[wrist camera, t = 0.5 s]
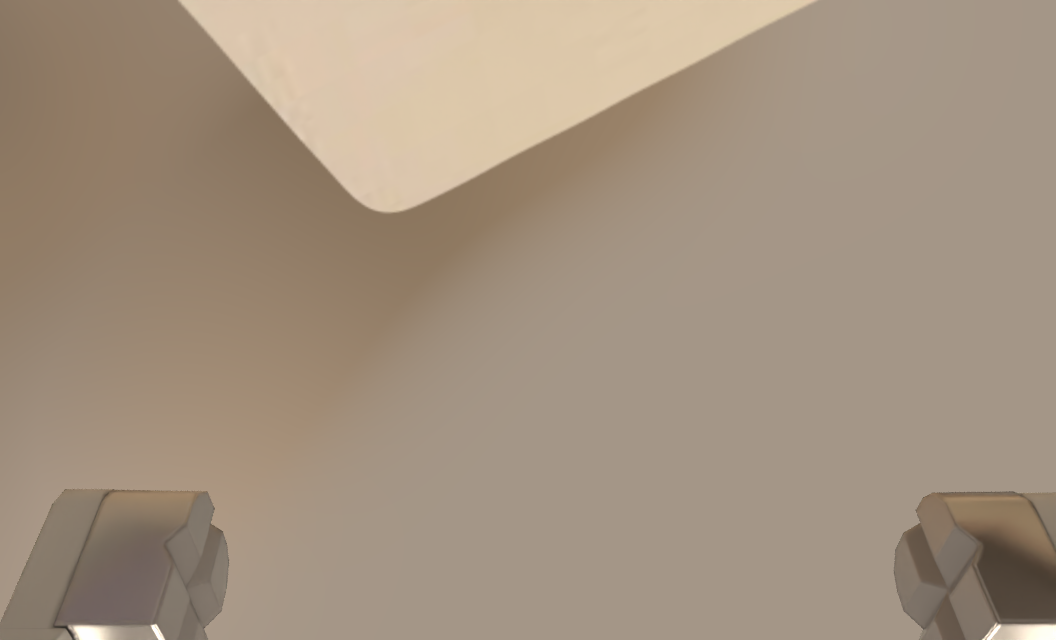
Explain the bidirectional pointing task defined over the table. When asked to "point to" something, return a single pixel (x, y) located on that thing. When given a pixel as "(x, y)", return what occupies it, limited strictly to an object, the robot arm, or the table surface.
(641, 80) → the table surface
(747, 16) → the table surface
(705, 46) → the table surface
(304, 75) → the table surface
